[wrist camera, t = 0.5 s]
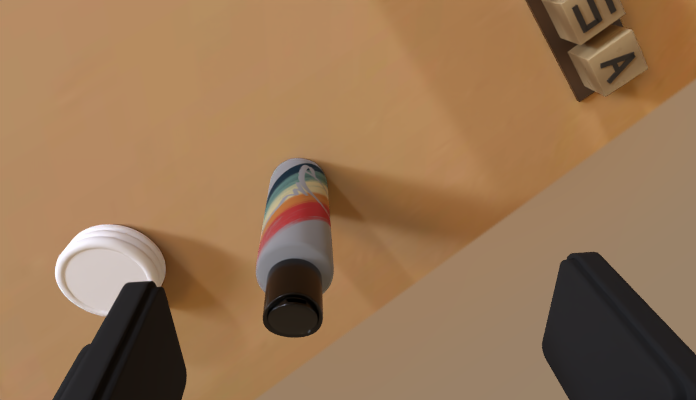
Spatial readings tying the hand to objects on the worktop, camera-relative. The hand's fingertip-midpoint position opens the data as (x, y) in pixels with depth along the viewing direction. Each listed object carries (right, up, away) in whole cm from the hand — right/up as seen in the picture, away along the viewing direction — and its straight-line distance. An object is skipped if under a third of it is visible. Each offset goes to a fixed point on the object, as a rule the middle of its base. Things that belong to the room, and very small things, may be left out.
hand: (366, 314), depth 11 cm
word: (+21, +18, +31) cm, 41 cm away
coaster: (-25, -4, +39) cm, 46 cm away
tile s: (+19, +20, +29) cm, 40 cm away
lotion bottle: (-5, +5, +36) cm, 37 cm away
